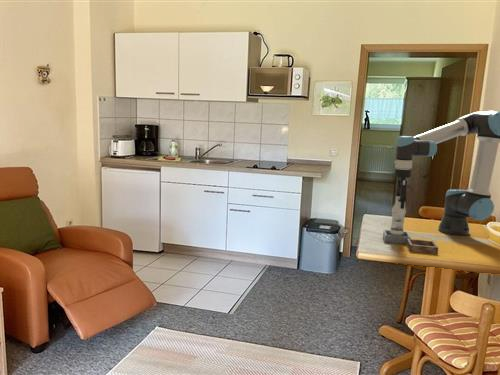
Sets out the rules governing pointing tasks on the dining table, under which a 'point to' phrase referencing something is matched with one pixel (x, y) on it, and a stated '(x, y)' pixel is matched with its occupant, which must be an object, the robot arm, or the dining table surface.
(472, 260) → the dining table surface
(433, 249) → the walnut collar
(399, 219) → the silver metal bottle
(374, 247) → the dining table surface
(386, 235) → the grey tray
